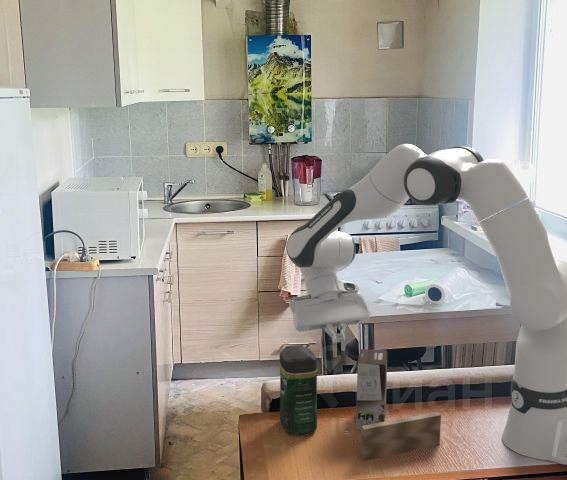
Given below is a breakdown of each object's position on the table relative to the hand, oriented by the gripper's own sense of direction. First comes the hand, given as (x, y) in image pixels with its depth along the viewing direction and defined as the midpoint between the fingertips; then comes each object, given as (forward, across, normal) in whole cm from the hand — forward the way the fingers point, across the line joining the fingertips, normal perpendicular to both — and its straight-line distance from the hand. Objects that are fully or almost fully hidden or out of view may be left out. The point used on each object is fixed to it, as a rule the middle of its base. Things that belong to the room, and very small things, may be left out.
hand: (339, 341), depth 172 cm
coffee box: (+22, 0, -4) cm, 23 cm away
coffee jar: (+20, -17, -2) cm, 26 cm away
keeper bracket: (+31, 0, -12) cm, 33 cm away
